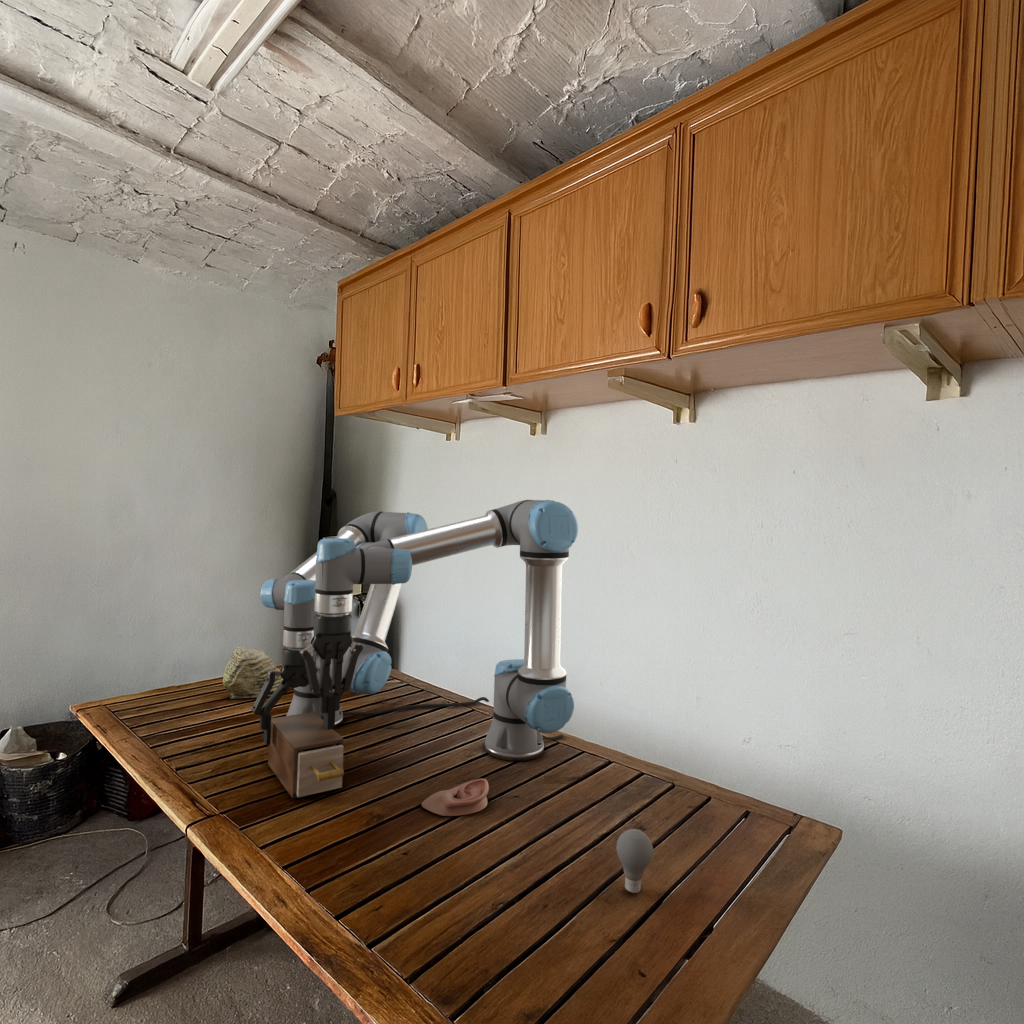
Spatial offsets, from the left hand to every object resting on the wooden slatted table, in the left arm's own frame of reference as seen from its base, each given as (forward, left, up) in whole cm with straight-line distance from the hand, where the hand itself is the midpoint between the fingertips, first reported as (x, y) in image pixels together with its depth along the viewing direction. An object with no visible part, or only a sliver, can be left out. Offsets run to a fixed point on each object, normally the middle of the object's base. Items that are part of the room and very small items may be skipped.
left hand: (296, 737), depth 148 cm
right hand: (+6, +20, +9) cm, 23 cm away
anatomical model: (-12, +40, -7) cm, 43 cm away
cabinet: (+2, +6, -7) cm, 9 cm away
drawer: (+3, +11, -6) cm, 13 cm away
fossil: (-20, -54, -7) cm, 58 cm away
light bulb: (-11, +82, -7) cm, 83 cm away
